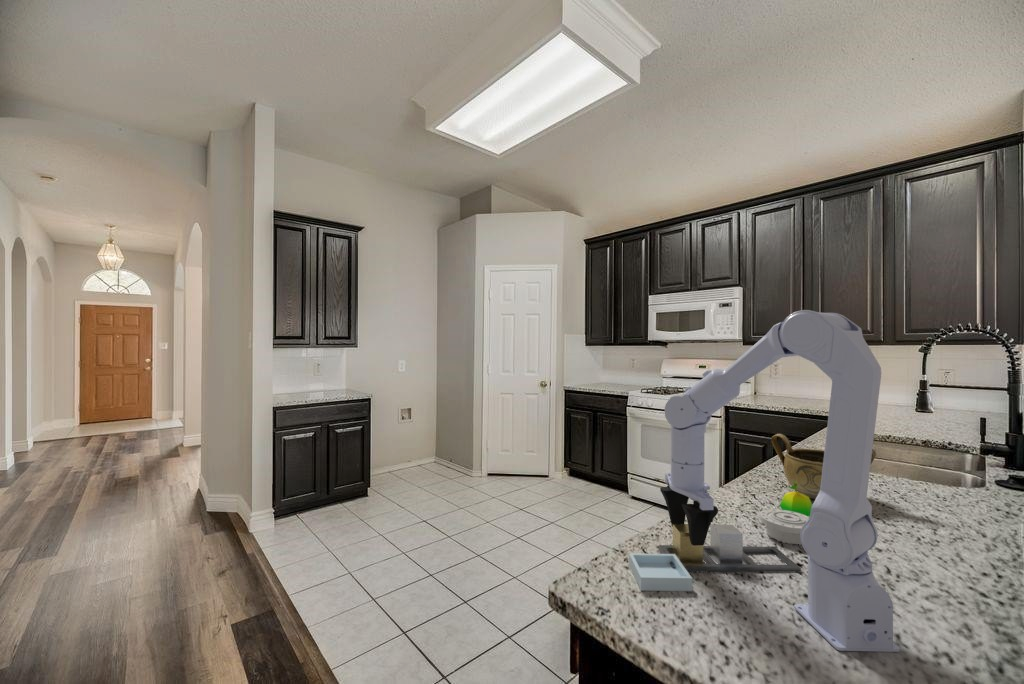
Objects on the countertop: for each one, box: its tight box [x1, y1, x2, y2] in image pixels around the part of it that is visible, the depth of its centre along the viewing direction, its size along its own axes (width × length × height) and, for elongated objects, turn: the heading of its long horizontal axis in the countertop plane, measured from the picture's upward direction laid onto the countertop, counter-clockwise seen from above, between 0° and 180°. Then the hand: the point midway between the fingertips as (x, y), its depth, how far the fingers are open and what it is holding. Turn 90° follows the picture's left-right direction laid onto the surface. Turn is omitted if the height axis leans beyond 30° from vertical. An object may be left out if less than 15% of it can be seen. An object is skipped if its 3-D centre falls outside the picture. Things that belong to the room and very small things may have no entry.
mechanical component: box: [759, 508, 809, 546], centre depth 91 cm, size 10×4×10 cm
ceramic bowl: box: [771, 433, 877, 500], centre depth 115 cm, size 22×17×15 cm
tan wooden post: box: [672, 523, 704, 564], centre depth 81 cm, size 4×4×6 cm
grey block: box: [709, 523, 744, 564], centre depth 81 cm, size 4×4×6 cm
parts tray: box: [628, 553, 693, 592], centre depth 75 cm, size 8×8×2 cm
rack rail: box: [658, 544, 802, 573], centre depth 81 cm, size 8×22×1 cm, turn 88°
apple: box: [779, 481, 813, 517], centre depth 99 cm, size 7×6×9 cm
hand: (687, 535), depth 81 cm, fingers open, 7 cm apart
